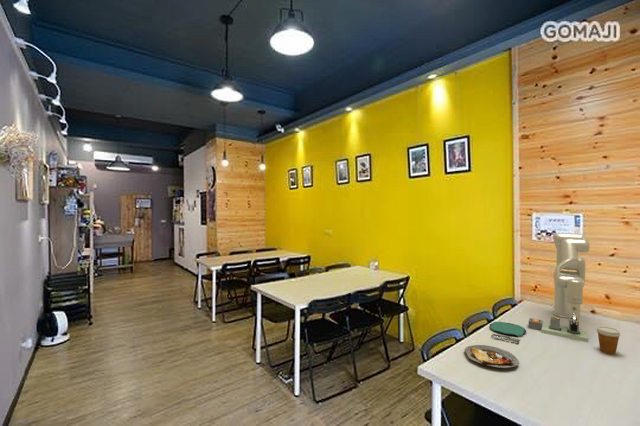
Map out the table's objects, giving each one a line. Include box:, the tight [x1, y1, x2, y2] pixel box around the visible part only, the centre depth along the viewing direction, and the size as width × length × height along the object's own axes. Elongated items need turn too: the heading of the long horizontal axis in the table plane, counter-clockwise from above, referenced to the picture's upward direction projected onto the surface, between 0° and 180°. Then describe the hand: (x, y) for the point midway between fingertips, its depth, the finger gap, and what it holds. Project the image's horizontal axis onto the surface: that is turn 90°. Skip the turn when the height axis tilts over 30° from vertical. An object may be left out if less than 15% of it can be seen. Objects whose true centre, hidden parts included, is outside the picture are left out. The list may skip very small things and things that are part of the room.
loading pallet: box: [528, 317, 589, 343], centre depth 197 cm, size 29×14×5 cm, turn 52°
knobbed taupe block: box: [568, 319, 580, 334], centre depth 192 cm, size 5×5×8 cm
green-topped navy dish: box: [489, 321, 527, 345], centre depth 197 cm, size 20×30×2 cm, turn 142°
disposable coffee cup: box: [596, 326, 621, 355], centre depth 172 cm, size 10×10×12 cm
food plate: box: [464, 344, 520, 369], centre depth 164 cm, size 25×23×4 cm
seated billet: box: [549, 316, 561, 331], centre depth 198 cm, size 5×5×8 cm
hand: (573, 328), depth 192 cm, fingers open, 9 cm apart
